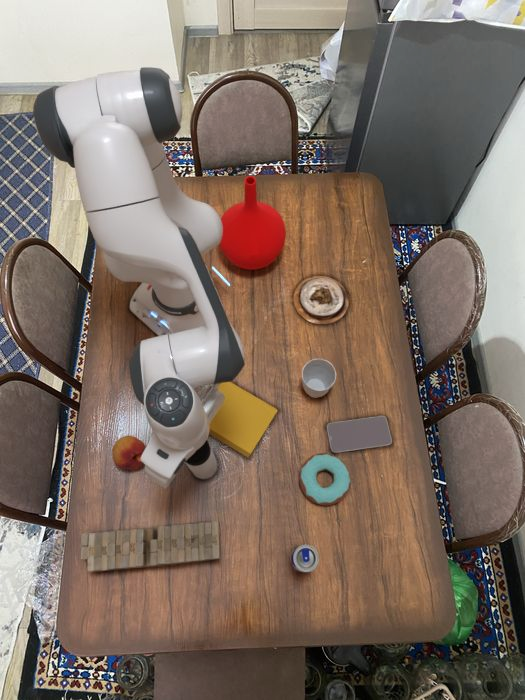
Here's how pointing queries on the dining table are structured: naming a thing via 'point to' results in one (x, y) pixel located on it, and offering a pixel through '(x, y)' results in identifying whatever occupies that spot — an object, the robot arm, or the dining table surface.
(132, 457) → the fruit
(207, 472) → the travel mug
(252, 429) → the yellow box
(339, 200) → the dining table surface
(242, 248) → the vase
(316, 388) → the cup
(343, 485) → the donut
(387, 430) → the smartphone
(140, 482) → the dining table surface
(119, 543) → the block tower
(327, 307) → the cake on gold board
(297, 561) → the beverage can
